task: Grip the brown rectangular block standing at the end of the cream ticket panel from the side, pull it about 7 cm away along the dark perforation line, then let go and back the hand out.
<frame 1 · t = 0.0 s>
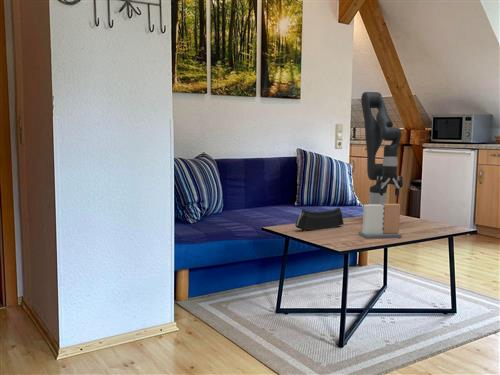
hand: (389, 195, 268), 17 cm above the table, tool pointing down, fingers open, 8 cm apart
brown rectangular block: (390, 218, 247), point 9 cm above the table, slide at 0.0 cm
magazine: (319, 229, 263), on the table
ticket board: (379, 236, 247), on the table
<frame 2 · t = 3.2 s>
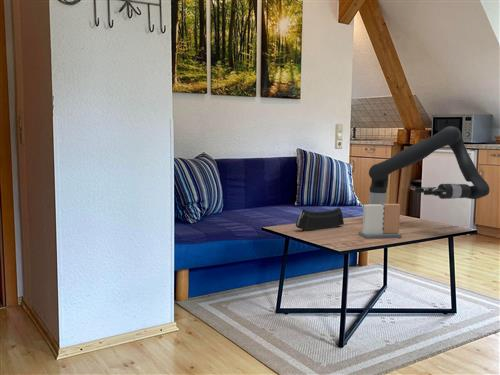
hand: (419, 191, 249), 22 cm above the table, tool horizontal, fingers open, 8 cm apart
nothing on the table moved.
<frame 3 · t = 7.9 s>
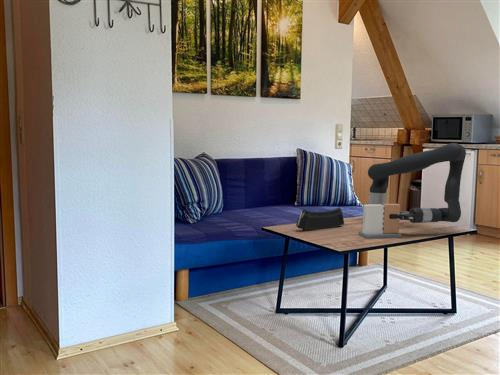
hand: (388, 215, 247), 10 cm above the table, tool horizontal, fingers closed on brown rectangular block, 3 cm apart
brown rectangular block: (390, 218, 247), point 9 cm above the table, slide at 0.0 cm, touching gripper
everything else where it was.
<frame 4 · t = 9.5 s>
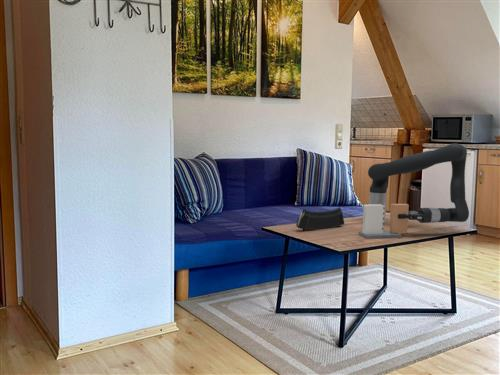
hand: (396, 215, 248), 10 cm above the table, tool horizontal, fingers closed on brown rectangular block, 3 cm apart
brown rectangular block: (399, 218, 248), point 9 cm above the table, slide at 4.5 cm, touching gripper
everything else where it was.
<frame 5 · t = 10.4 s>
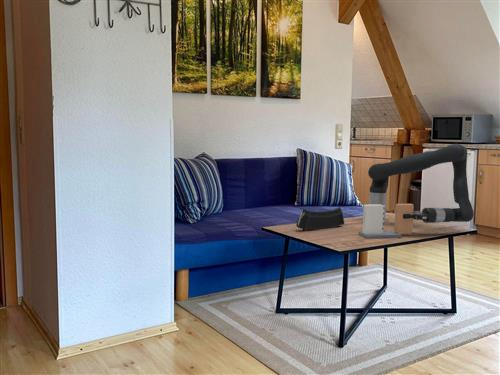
hand: (401, 215, 248), 10 cm above the table, tool horizontal, fingers closed on brown rectangular block, 3 cm apart
brown rectangular block: (403, 218, 249), point 9 cm above the table, slide at 7.1 cm, touching gripper
everything else where it was.
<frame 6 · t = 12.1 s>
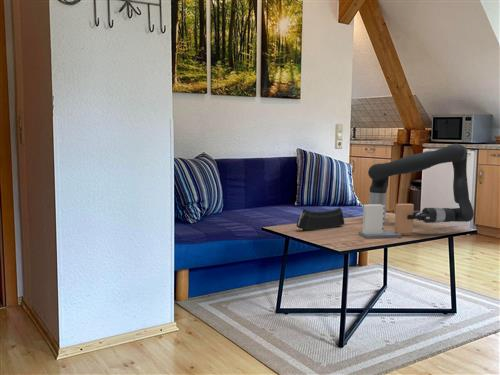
hand: (403, 215, 249), 10 cm above the table, tool horizontal, fingers open, 8 cm apart
brown rectangular block: (404, 218, 249), point 9 cm above the table, slide at 7.2 cm
everything else where it was.
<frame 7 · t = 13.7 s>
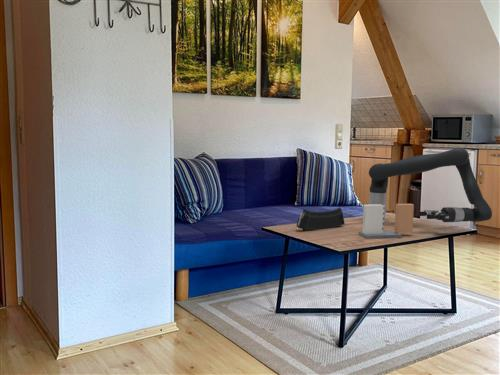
hand: (422, 215, 250), 10 cm above the table, tool horizontal, fingers open, 8 cm apart
nothing on the table moved.
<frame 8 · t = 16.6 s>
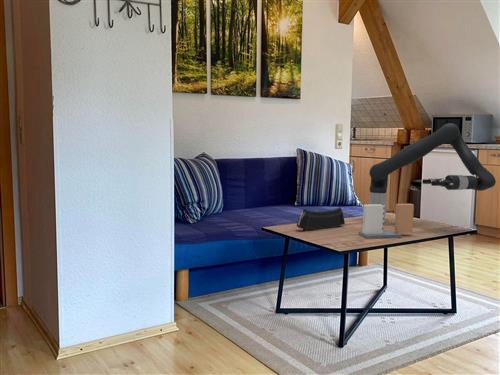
hand: (427, 182, 253), 26 cm above the table, tool horizontal, fingers open, 8 cm apart
nothing on the table moved.
at the end: brown rectangular block slide at 7.2 cm; the gripper is holding nothing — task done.
